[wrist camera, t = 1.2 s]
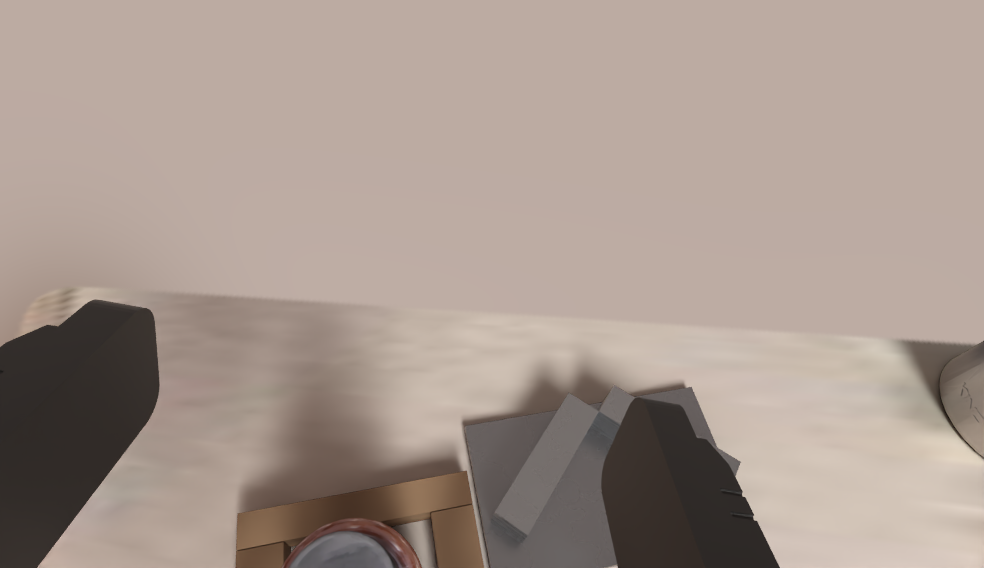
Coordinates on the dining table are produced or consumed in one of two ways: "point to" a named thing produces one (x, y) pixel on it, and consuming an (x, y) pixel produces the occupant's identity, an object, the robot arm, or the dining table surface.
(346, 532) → the supplement bottle
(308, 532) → the frame
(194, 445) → the dining table surface
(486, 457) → the metal v block
